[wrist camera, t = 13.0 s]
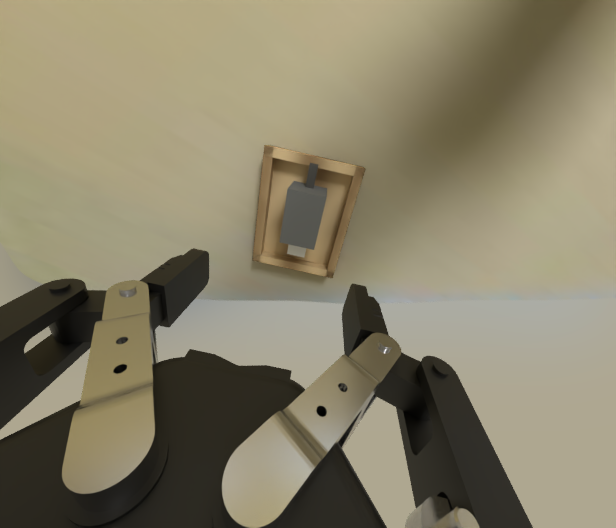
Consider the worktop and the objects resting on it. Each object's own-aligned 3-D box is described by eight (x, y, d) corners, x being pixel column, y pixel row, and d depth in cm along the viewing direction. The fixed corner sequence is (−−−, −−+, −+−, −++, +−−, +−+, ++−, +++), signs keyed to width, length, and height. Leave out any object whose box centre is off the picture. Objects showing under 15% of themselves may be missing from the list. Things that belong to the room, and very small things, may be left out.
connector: (332, 166, 26) (332, 172, 22) (312, 249, 31) (310, 266, 27) (297, 158, 26) (291, 163, 22) (283, 243, 31) (276, 259, 27)
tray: (362, 166, 26) (365, 168, 25) (332, 270, 33) (332, 278, 31) (269, 145, 26) (264, 145, 24) (257, 253, 33) (252, 260, 31)
